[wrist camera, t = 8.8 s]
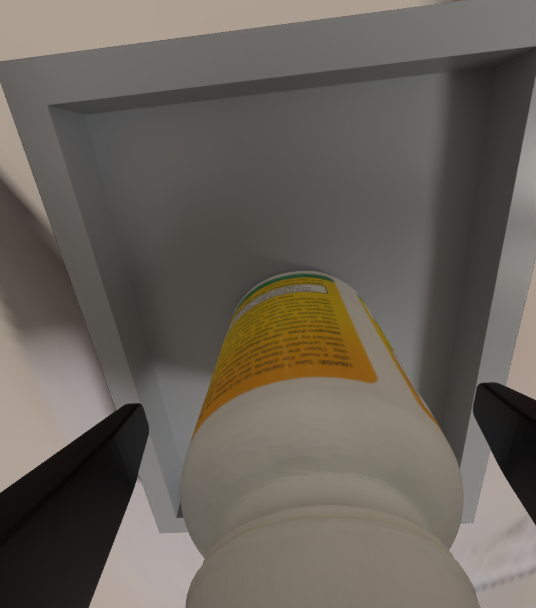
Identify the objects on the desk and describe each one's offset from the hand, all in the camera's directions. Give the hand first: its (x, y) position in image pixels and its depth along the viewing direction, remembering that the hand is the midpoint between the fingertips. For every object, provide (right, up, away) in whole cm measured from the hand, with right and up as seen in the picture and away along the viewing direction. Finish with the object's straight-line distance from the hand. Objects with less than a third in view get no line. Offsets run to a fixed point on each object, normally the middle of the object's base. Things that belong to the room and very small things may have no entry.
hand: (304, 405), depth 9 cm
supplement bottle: (0, +2, +4) cm, 4 cm away
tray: (0, +2, +5) cm, 5 cm away
